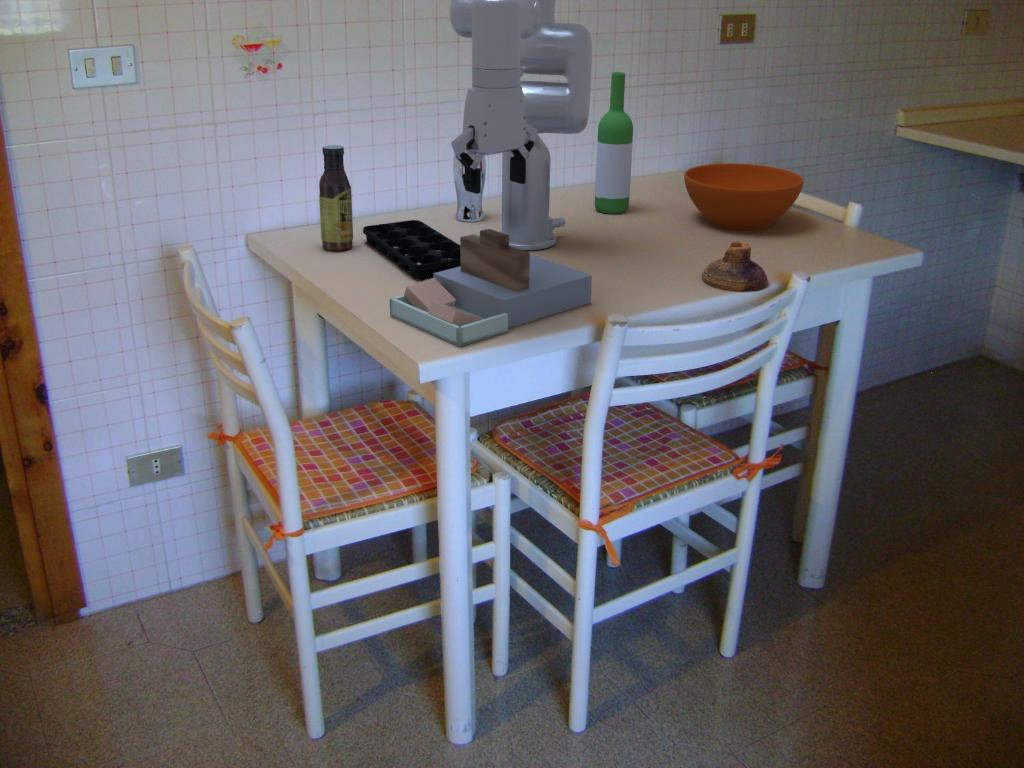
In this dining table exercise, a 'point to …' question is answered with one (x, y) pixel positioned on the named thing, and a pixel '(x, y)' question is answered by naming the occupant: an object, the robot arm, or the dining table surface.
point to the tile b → (452, 314)
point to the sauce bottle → (335, 201)
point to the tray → (448, 323)
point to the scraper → (495, 260)
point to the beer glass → (468, 193)
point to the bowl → (742, 193)
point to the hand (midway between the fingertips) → (495, 187)
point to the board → (520, 292)
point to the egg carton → (414, 247)
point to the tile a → (428, 294)
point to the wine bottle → (614, 153)
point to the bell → (735, 270)
